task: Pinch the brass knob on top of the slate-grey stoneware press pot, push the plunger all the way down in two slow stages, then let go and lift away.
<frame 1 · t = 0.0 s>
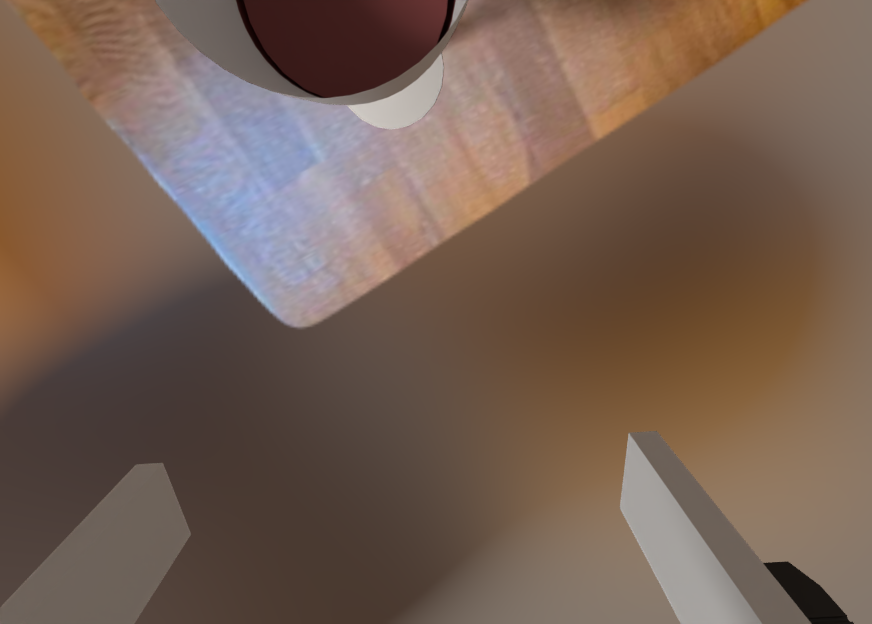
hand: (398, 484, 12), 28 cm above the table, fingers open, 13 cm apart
wineglass: (389, 69, 33), on the table
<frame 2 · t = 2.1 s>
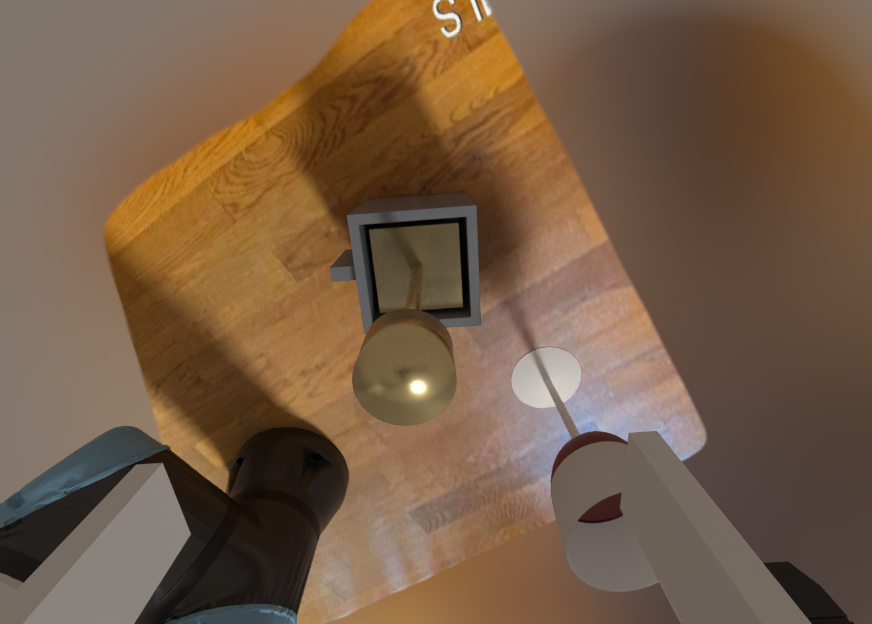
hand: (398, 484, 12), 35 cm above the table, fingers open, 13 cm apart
press pot: (420, 243, 44), on the table
wineglass: (545, 377, 51), on the table
plunger: (413, 305, 26), point 20 cm above the table, slide at 0.0 cm
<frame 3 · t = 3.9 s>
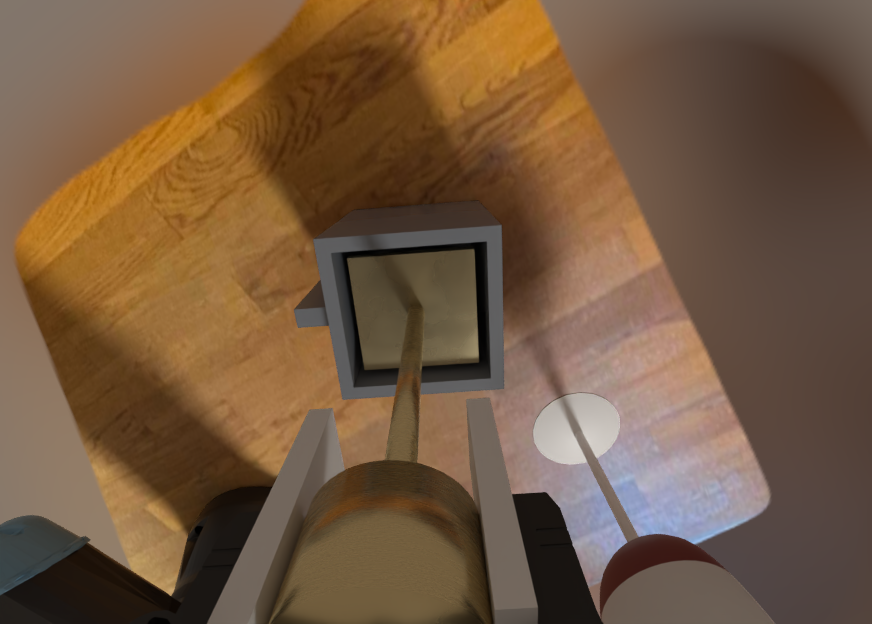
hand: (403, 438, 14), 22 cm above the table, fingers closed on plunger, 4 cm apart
press pot: (421, 265, 35), on the table
wineglass: (575, 428, 41), on the table
plunger: (408, 391, 16), point 20 cm above the table, slide at 0.0 cm, touching gripper
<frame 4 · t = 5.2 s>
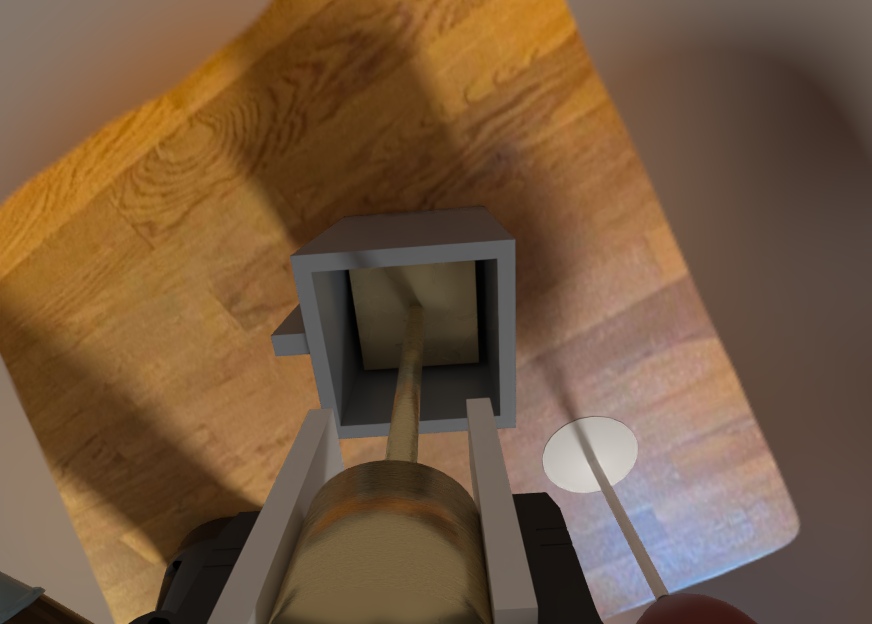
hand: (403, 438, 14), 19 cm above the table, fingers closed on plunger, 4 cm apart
press pot: (419, 278, 31), on the table
wineglass: (589, 454, 37), on the table
plunger: (408, 391, 16), point 16 cm above the table, slide at 3.8 cm, touching gripper
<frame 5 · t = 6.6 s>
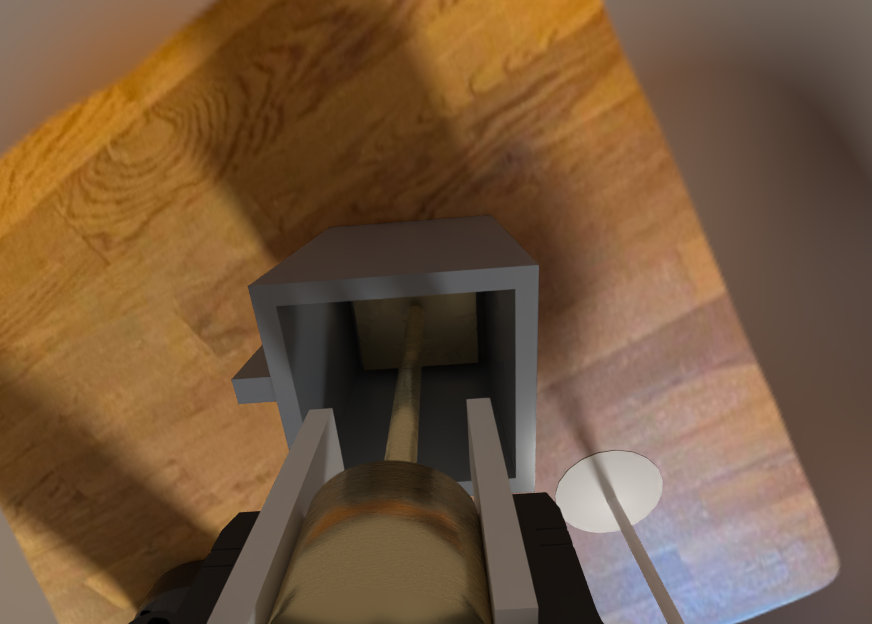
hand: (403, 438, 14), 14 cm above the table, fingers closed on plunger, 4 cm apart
press pot: (417, 297, 27), on the table
wineglass: (607, 491, 33), on the table
plunger: (407, 391, 16), point 11 cm above the table, slide at 8.2 cm, touching gripper
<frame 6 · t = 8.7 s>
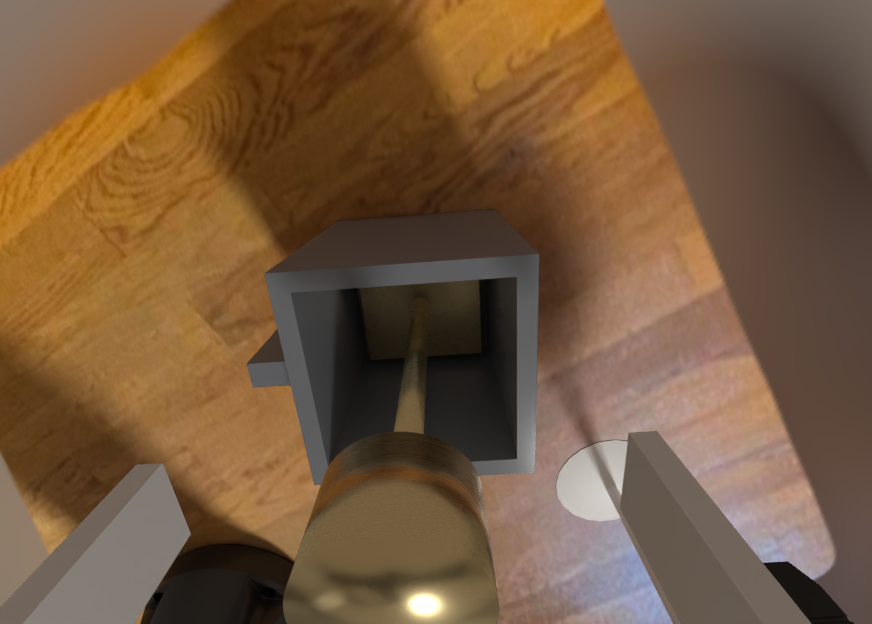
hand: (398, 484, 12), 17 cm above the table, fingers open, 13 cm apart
press pot: (422, 289, 28), on the table
wineglass: (607, 480, 34), on the table
plunger: (414, 376, 17), point 11 cm above the table, slide at 8.1 cm
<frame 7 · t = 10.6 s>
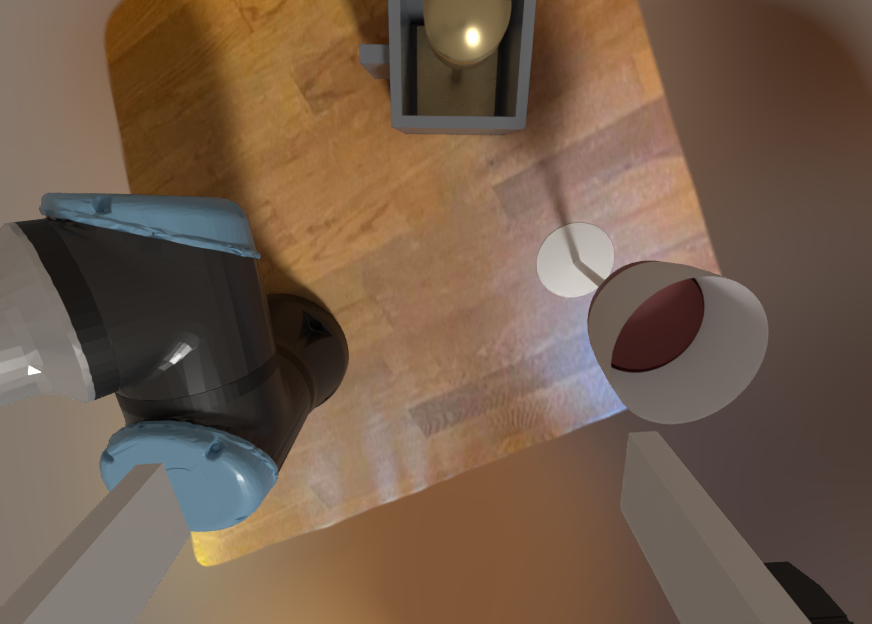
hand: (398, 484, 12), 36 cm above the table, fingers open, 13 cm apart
press pot: (456, 78, 40), on the table
wineglass: (574, 260, 46), on the table
plunger: (460, 51, 29), point 11 cm above the table, slide at 8.1 cm
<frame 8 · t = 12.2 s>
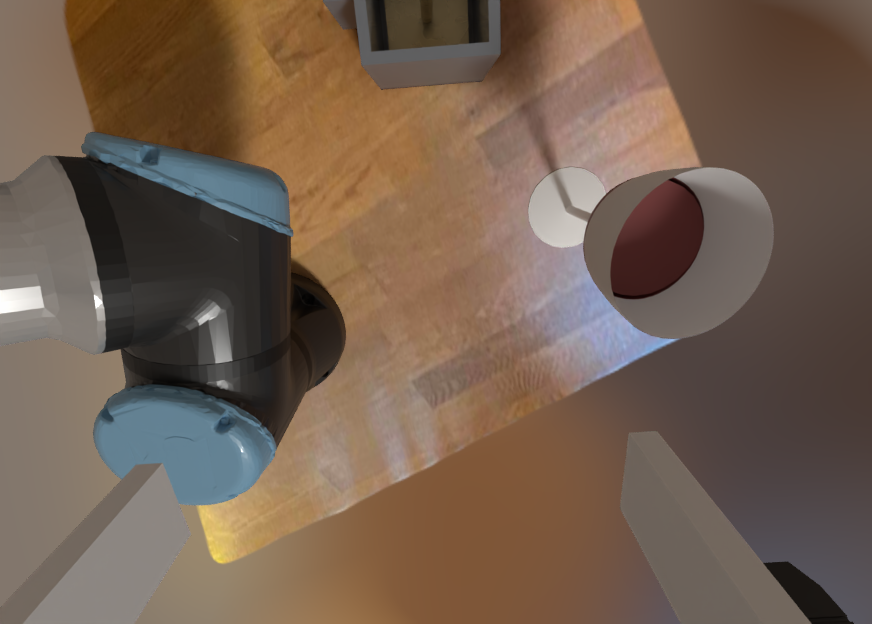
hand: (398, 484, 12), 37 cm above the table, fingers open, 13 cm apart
press pot: (427, 25, 39), on the table
wineglass: (567, 208, 45), on the table
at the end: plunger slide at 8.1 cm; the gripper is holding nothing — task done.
